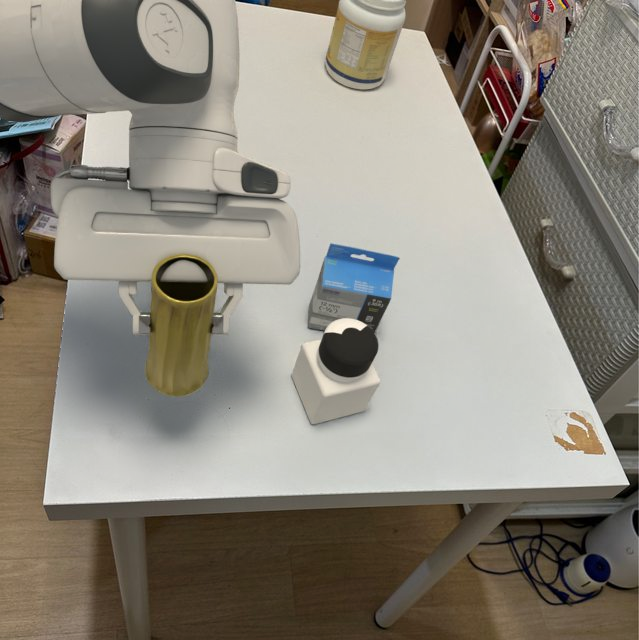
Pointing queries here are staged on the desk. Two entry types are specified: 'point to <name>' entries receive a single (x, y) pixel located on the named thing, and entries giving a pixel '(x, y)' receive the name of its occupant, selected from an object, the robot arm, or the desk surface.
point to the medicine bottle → (337, 371)
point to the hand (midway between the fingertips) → (181, 333)
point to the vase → (180, 329)
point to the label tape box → (352, 287)
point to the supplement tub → (364, 41)
